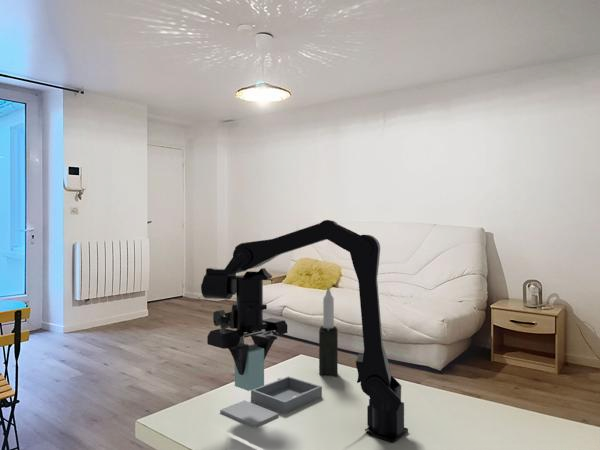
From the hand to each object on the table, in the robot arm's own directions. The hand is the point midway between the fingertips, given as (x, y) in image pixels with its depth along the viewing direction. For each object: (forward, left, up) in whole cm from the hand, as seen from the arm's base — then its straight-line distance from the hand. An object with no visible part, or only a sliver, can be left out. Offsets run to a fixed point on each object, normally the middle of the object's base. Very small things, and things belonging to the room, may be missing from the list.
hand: (249, 371), depth 93 cm
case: (0, -12, -10) cm, 15 cm away
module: (0, 0, -3) cm, 3 cm away
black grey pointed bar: (+4, -33, -10) cm, 35 cm away
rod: (-3, -12, -9) cm, 15 cm away
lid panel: (0, 0, -10) cm, 10 cm away
